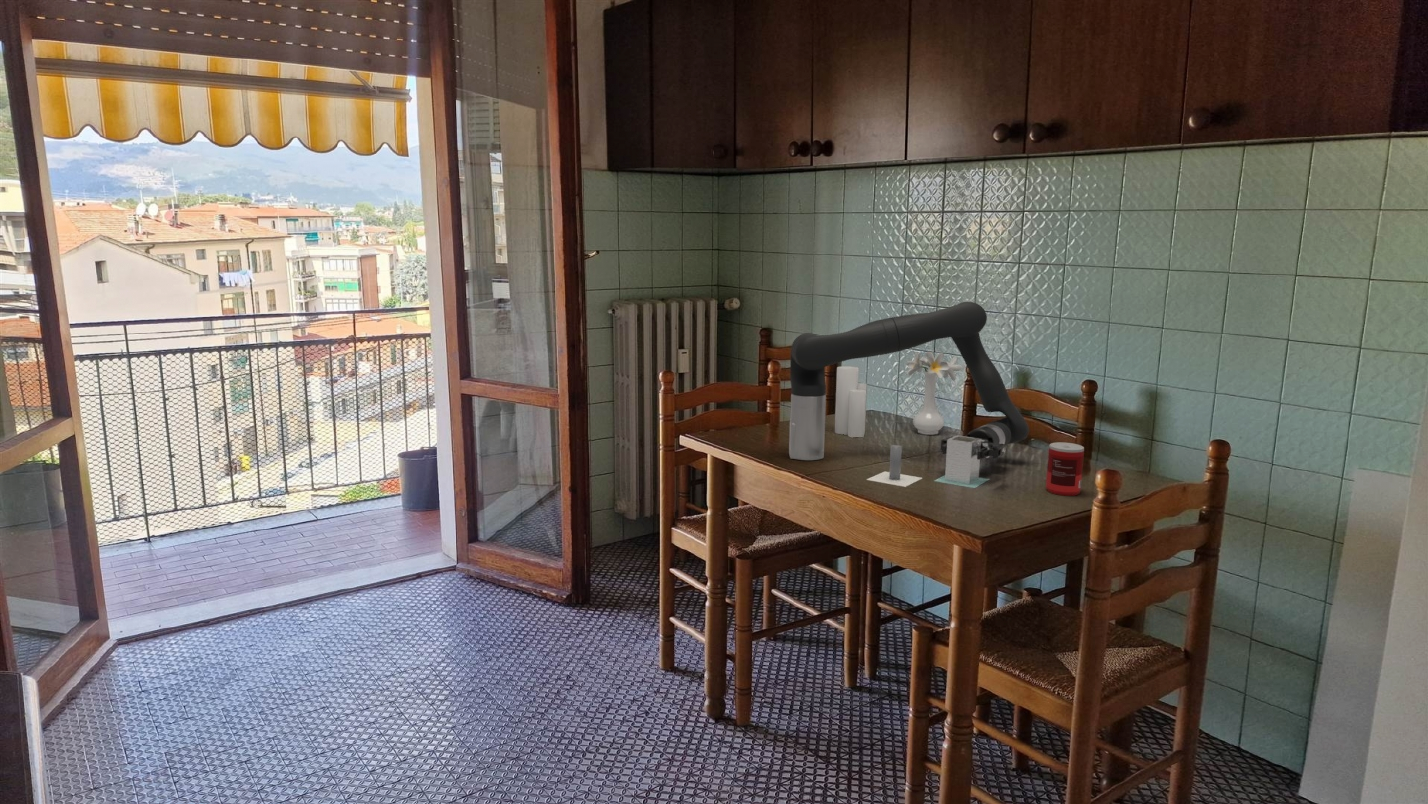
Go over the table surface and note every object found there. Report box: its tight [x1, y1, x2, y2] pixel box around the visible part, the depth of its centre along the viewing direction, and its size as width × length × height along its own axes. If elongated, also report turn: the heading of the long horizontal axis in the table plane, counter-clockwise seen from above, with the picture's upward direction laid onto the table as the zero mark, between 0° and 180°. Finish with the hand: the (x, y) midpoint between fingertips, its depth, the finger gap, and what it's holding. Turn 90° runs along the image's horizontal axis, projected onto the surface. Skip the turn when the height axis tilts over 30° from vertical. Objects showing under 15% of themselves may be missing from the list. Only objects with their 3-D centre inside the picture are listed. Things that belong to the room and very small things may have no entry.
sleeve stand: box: [866, 444, 923, 488], centre depth 212 cm, size 10×10×10 cm
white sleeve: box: [944, 434, 981, 485], centre depth 211 cm, size 6×6×10 cm
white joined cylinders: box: [834, 365, 868, 438], centre depth 268 cm, size 11×7×20 cm, turn 37°
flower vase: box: [906, 351, 963, 436], centre depth 271 cm, size 13×18×25 cm
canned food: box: [1045, 441, 1085, 497], centre depth 208 cm, size 8×8×11 cm
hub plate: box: [933, 474, 991, 489], centre depth 212 cm, size 10×10×10 cm
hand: (961, 452), depth 210 cm, fingers open, 8 cm apart
